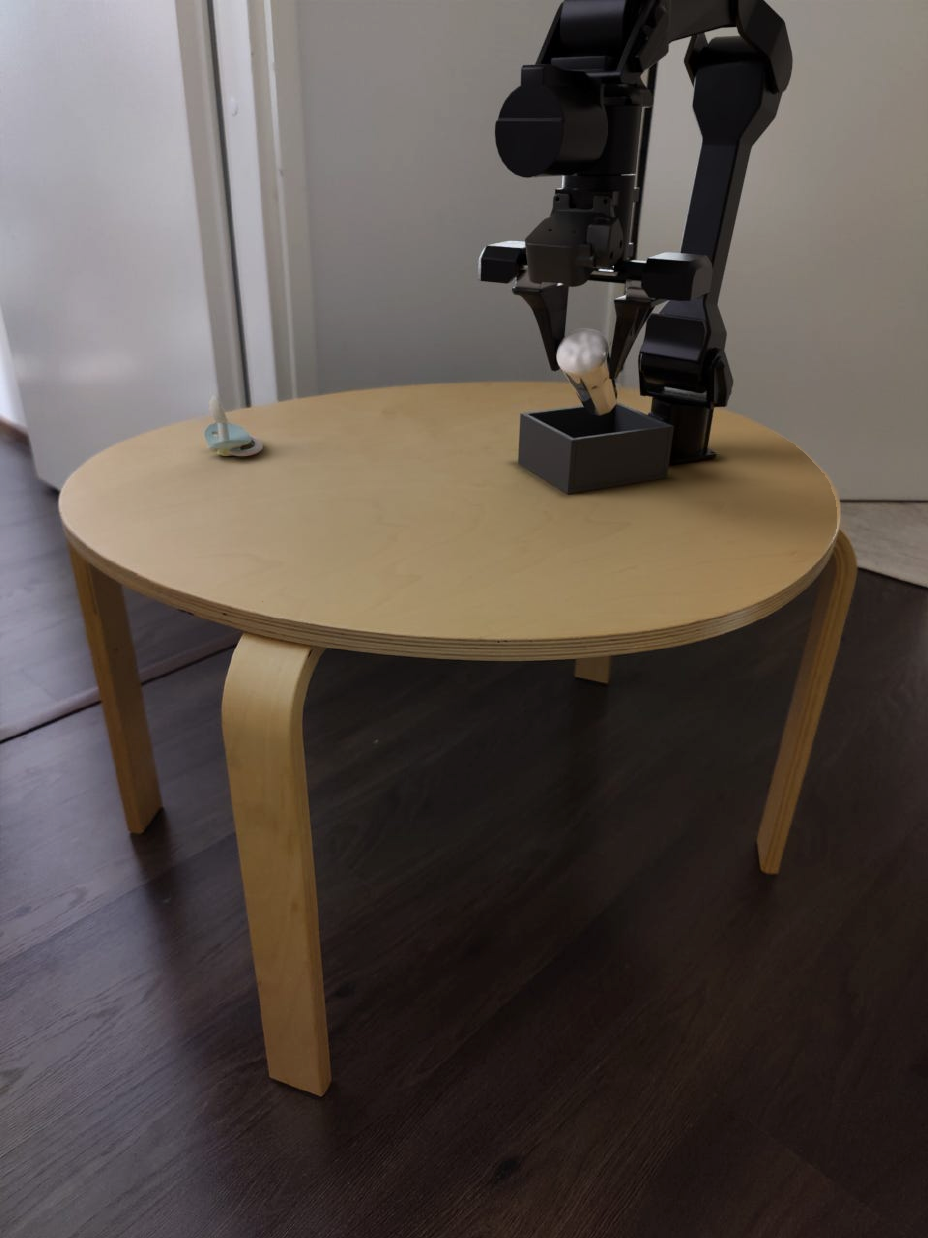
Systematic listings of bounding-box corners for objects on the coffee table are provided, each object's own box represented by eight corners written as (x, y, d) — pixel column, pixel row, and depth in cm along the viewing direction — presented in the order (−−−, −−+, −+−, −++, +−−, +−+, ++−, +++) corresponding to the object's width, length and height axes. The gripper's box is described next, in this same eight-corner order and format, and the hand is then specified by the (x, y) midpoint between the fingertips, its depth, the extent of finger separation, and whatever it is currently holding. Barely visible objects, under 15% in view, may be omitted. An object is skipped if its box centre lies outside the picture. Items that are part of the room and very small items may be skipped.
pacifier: (258, 440, 99) (204, 443, 97) (254, 385, 96) (198, 387, 94) (267, 460, 93) (210, 463, 91) (263, 402, 90) (204, 404, 88)
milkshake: (622, 428, 80) (600, 366, 71) (570, 417, 82) (542, 356, 73) (640, 385, 81) (620, 319, 72) (587, 376, 83) (562, 311, 74)
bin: (611, 449, 98) (616, 401, 95) (667, 477, 90) (674, 426, 87) (517, 463, 93) (520, 412, 91) (567, 494, 85) (571, 440, 83)
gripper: (444, 173, 66) (444, 379, 73) (682, 182, 58) (654, 413, 65) (512, 169, 74) (505, 354, 82) (728, 176, 66) (698, 381, 74)
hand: (583, 374), depth 75 cm, fingers closed on milkshake, 5 cm apart
